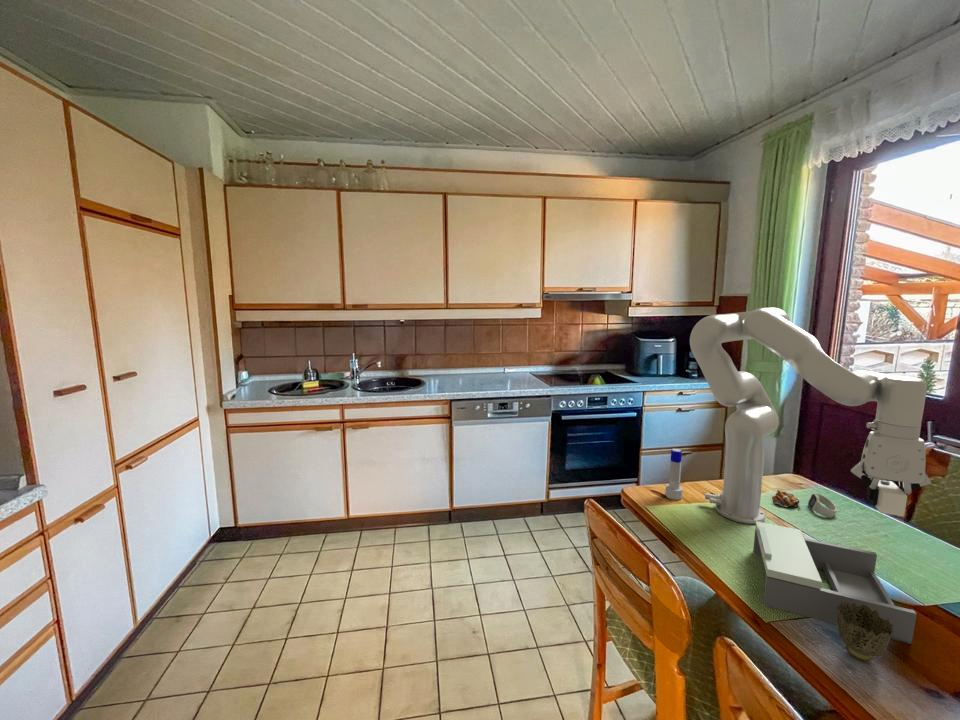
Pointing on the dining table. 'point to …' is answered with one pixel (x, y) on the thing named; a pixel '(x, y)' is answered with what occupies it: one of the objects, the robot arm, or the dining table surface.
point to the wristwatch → (820, 509)
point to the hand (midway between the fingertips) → (885, 504)
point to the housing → (839, 588)
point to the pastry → (786, 499)
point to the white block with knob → (891, 498)
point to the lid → (787, 555)
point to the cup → (863, 631)
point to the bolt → (674, 476)
